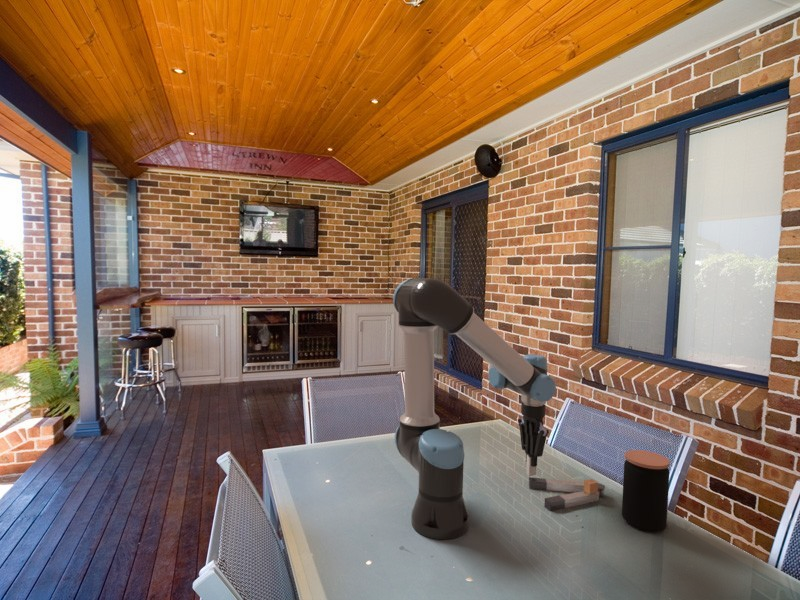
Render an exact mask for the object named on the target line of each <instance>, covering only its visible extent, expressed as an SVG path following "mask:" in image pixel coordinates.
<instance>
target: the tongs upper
mask: <svg viewBox="0 0 800 600" xmlns="http://www.w3.org/2000/svg"><path fill="white" fill-rule="evenodd" d="M528 488H529V489H530V490H539V491H540V490H541V491H551V492H552V491H553V492H564V493H576V492H581V491H584V481H571V480H560V479H549V478H540V477H532V476H528Z"/></svg>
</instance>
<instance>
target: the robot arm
mask: <svg viewBox="0 0 800 600" xmlns="http://www.w3.org/2000/svg"><path fill="white" fill-rule="evenodd" d="M392 302H393V306H394V308H395V311H396V312H397V313H398V327H399V328H401V329H402V331H403V343H404V344H403V346H404V347H403V350H404V353H403V354H404V358H403V359H404V368H403V369H404V413H403V414H401V415H400V417H399V425H398V426H397V427H396V429H395V433H394V443H395V444H394V445H395V447H396V449H397V452H398V453H399V454H400V456H401V457H402V458H403V459H405V461H407V463H408V464H410V466H412V468H414V469H415V470H416V471H417V472H418V493H417V497H416V499H415V502H414V505H413V508H412V510H411V511H412V512H411V516H410V517H411V526H412V528H413V529H414V530H415V531H416V532H417V533H418V534H420V535H422V536H424V537H426V536H427V537H426V538H429V539H430V538H431V539H434V538H435V540H451V539H455V538H459V537H461V536H463V535H465V533H466V532H467V531H468V529H469V525H470V524H469V523H470V516H469V514H468V512H469V511H468V509H467V506H466V503H465V500H464V496H463V495H464V493H463V492H464V463H465V462H464V461H465V451H464V450H465V447H464V443H463V440H462V439H461V437H460V436H459V435H457V434H456V433H455V432H452V431H450V430H449V431H447V429H441V428H440V427H441V426H440V425H441V424H440V423H441V422H440V421H441V419H440V417H439V415H437V414H436V412H435V330H436V329H437V328H438V327H439V328H441V329H443V330H444V331H445V332H446V333H448V335H455V336H457V337H458V338H459V339H460V340H461V341H463V342H464V343H465V344H466V345H467V346H469V348H470V349H472V350H473V351H474V352H475V353H476V354H478V355H479V356H480V357H481V358H482V359H484V360H485V361H486V362H487V363H488V364H489V365H490V367H489V369H488V374H487V375H488V376H487V377H488V382H489V384H490V386H491V387H492V388H494V389H501V390H504V389H508V390H511V391H513V392H516V393H518V394H521V396H520V397H521V399H520V401H521V403H520V406H521V407H520V413H521V415H522V418H518V419H517V423H518V427H519V435H520V443H521V450H522V451H524V452H525V459H526V460H525V462H526V463H525V464H526V468H525V469H526V470H525V471H526V472H525V475H527V476H528V477H532V476H533V477H534V476H536V475H537V466H538V457H542V456H543V454H544V450H545V445H546V441H547V436H548V435H549V432H550V431H549V429H545V427H544V417H545V416H546V408H547V407H546V406H547V405H546V402H548V401H550V400H551V399H553V397H554V395H555V393H556V391H557V385H556V382H555V380H554V379H553V377H551V376H549V375H548V360H547V357H545V356H544V355H540V354H531V353H530V354H529V353H528V354H524V355H523V356H522V355H521V354H520V353H519V352H518V351H517V350H516V349H515V348H513V347H512V346H511V345H510V344H509V343H508V342H507V341H506V340H504V339H503V338H502V336H500V335H499V334H498V333H497V332H496V331H495V330H494V329H493V328H492V327H490V326H489V325H488V324H487V323H486V322H485V321H484V320H483V319H481V317H479V316H478V315H477V314H476V313H475V308H474V306H473V305H472V304H471V303H470V301H468V300H467V299H465V297H464V296H462V295H461V294H460V293H459V292H458V291H457V290H456V289H455V288H453V287H452V286H450V285H449V284H448V283H446V282H445V281H444V280H440V279H437V278H431V277H430V278H427V277H411V278H408V279H405V280H403V281H401V282H400V284H399V285H398V286H397V287H396V288H395V290H394V292H393V298H392Z"/></svg>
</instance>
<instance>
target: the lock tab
mask: <svg viewBox="0 0 800 600" xmlns="http://www.w3.org/2000/svg"><path fill="white" fill-rule="evenodd" d="M583 482H584V491H585V492H587V493H588V494H593V493H598V483H599V482H598V481H596V480H594V479H593V478H592V479H585V480H583Z"/></svg>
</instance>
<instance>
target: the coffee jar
mask: <svg viewBox="0 0 800 600" xmlns="http://www.w3.org/2000/svg"><path fill="white" fill-rule="evenodd" d="M624 458H625V461H624V463H623V480H622V481H623V482H622V483H623V484H622V502H621V504H622V505H621V515H622V518H623V520H624V521H625V523H626V524H627V525H629V526H630V527H632V528H634V529H635V530H639V531H642V532H645V533H650V534H651V533H652V534H653V533H655V534H656V533H661V532H663V530H664V529H666V528H667V523H668V509H669V507H668V506H669V505H668V504H669V487H670V469H669V468H670V465H671V464H670V463H671V461H670V460H669V459H668V458H667V457H666V456H664V455H661V454H660V453H656V452H653V451H648V450H641V449H629V450H627V451H625V452H624Z"/></svg>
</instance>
